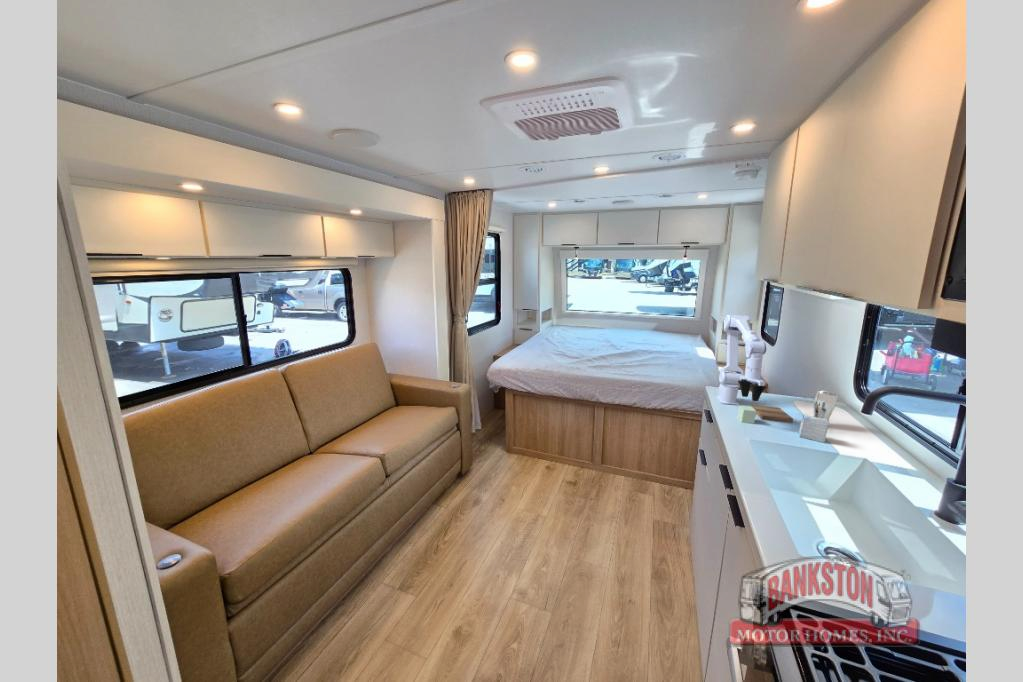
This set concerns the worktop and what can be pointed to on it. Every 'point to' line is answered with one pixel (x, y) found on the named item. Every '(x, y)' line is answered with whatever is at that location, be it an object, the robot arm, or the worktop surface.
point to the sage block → (746, 414)
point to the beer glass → (824, 404)
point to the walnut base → (772, 414)
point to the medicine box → (813, 428)
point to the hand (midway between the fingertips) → (749, 398)
